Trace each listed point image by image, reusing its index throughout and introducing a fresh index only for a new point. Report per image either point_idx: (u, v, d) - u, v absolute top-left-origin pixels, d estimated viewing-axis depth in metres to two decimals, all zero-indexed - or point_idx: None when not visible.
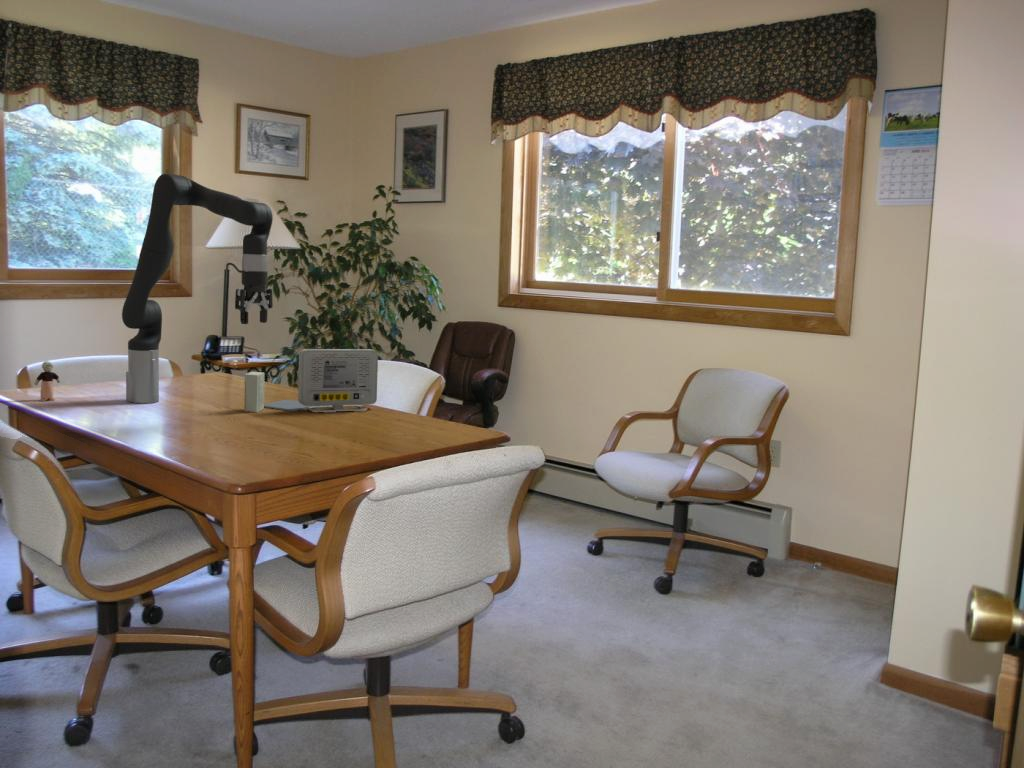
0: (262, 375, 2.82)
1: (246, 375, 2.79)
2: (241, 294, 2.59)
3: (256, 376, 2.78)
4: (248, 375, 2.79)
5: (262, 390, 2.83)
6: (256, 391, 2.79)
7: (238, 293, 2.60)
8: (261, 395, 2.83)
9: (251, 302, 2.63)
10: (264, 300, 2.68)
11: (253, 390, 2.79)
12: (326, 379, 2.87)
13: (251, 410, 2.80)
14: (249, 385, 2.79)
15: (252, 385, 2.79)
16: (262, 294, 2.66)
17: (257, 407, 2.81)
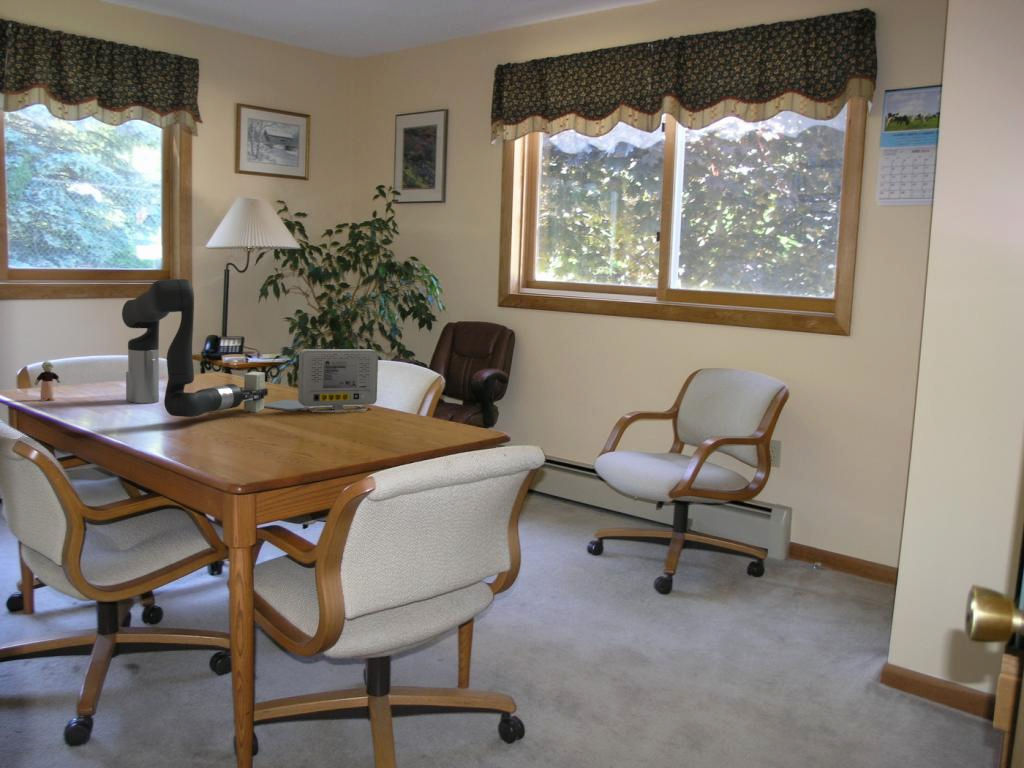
0: (262, 375, 2.82)
1: (246, 375, 2.79)
2: None
3: (255, 376, 2.78)
4: (248, 375, 2.79)
5: None
6: None
7: None
8: None
9: None
10: None
11: None
12: (326, 380, 2.87)
13: (251, 410, 2.80)
14: (249, 385, 2.79)
15: (251, 385, 2.79)
16: None
17: (257, 407, 2.80)
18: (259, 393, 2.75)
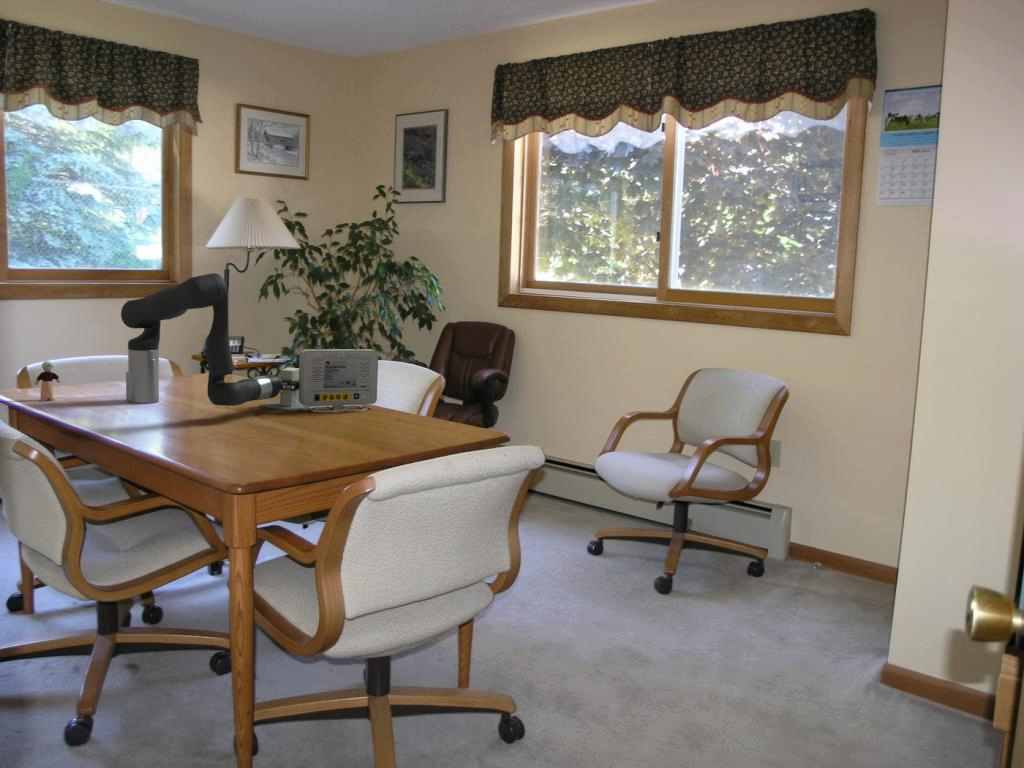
0: (298, 371, 2.92)
1: (282, 370, 2.88)
2: None
3: (291, 372, 2.88)
4: (284, 371, 2.88)
5: None
6: None
7: None
8: (296, 390, 2.92)
9: None
10: None
11: None
12: (326, 380, 2.87)
13: (286, 404, 2.90)
14: None
15: None
16: (280, 391, 2.86)
17: (292, 402, 2.90)
18: (296, 383, 2.85)
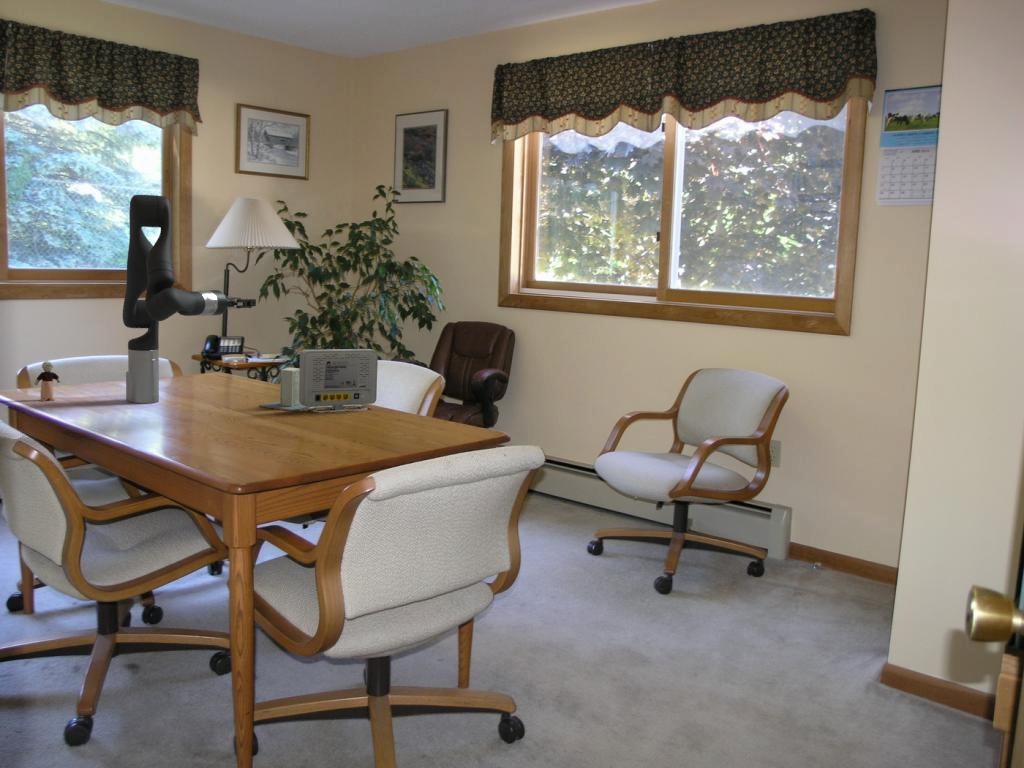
0: (298, 371, 2.92)
1: (282, 370, 2.88)
2: None
3: (291, 372, 2.88)
4: (284, 371, 2.88)
5: (298, 385, 2.93)
6: (291, 386, 2.89)
7: None
8: (296, 390, 2.92)
9: None
10: None
11: (288, 385, 2.89)
12: (327, 380, 2.87)
13: (286, 404, 2.90)
14: (285, 380, 2.89)
15: (287, 381, 2.89)
16: None
17: (292, 402, 2.90)
18: (244, 301, 2.65)
